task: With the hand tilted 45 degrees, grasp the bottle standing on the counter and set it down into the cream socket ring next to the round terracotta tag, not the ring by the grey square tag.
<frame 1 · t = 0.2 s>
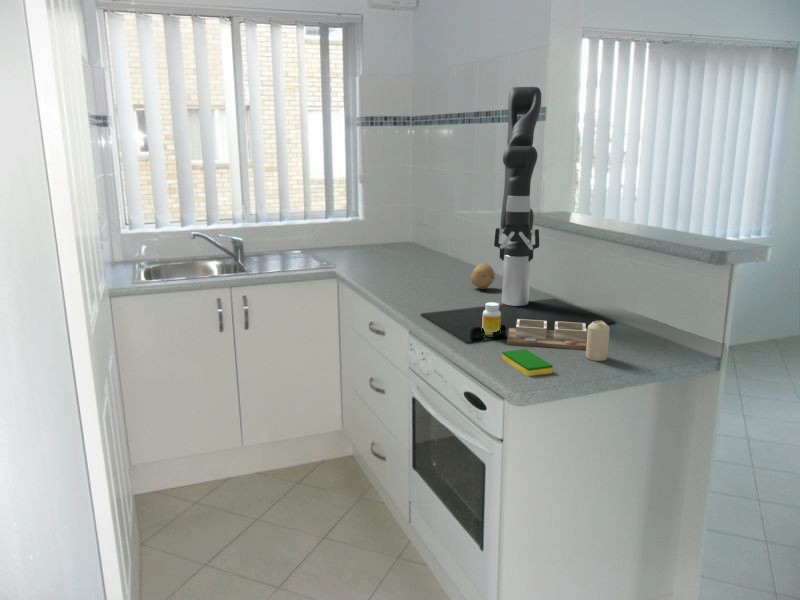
hand: (516, 260, 215), 18 cm above the counter, tool pointing down, fingers open, 8 cm apart
supplement bottle: (491, 336, 196), on the counter
candle: (596, 358, 177), on the counter
socket board: (550, 340, 192), on the counter
potato: (482, 290, 253), on the counter
dish sponge: (526, 367, 171), on the counter
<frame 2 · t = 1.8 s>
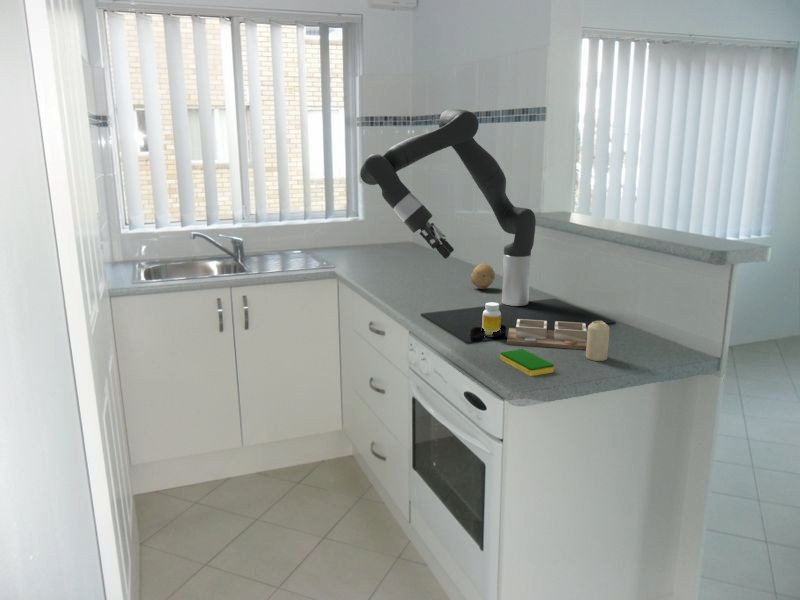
hand: (450, 254, 193), 24 cm above the counter, tool tilted 45°, fingers open, 8 cm apart
nothing on the counter moved.
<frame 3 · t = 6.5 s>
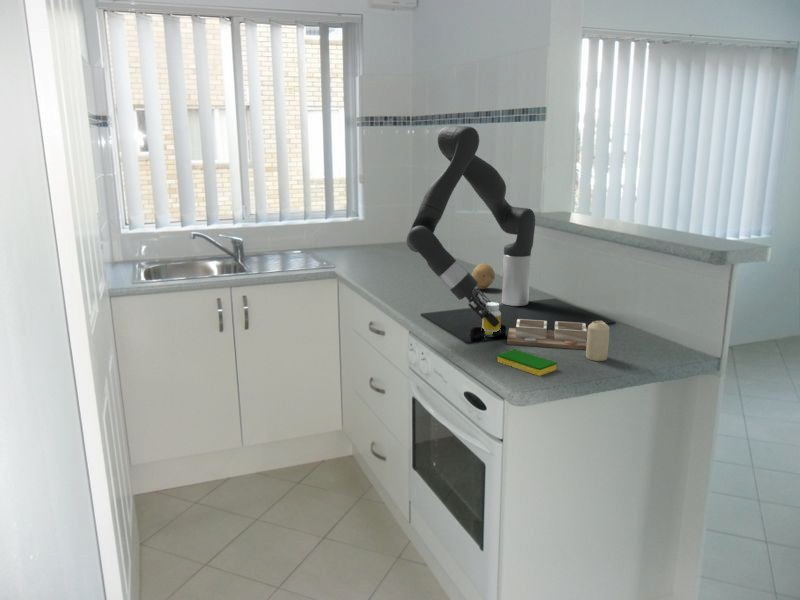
hand: (497, 321, 195), 4 cm above the counter, tool tilted 45°, fingers closed on supplement bottle, 5 cm apart
supplement bottle: (491, 335, 196), on the counter, touching gripper
when the fingers open (7 cm above the counter, at t = 12.5 s): supplement bottle drops 2 cm, resting on socket board.
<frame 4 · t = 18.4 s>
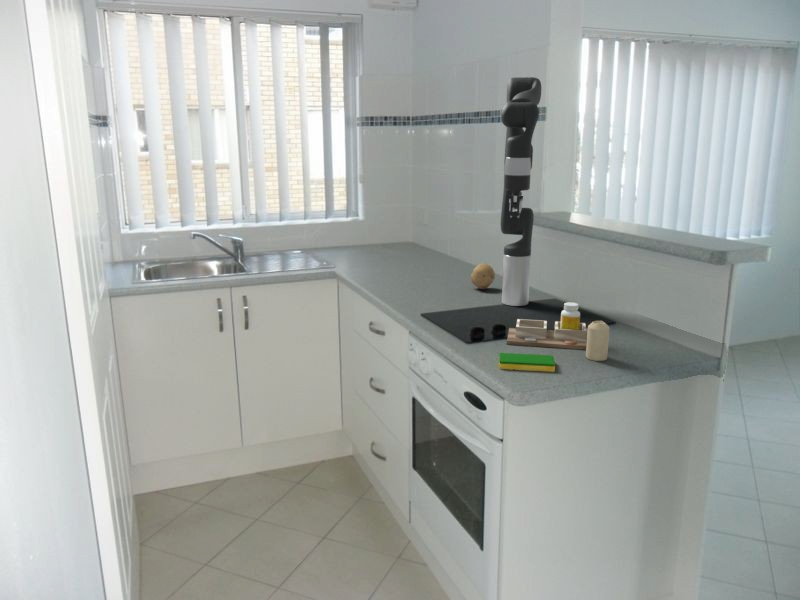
hand: (514, 228, 199), 30 cm above the counter, tool pointing down, fingers open, 8 cm apart
supplement bottle: (569, 336, 192), point 1 cm above the counter, touching socket board
at the end: supplement bottle 0.2 cm from the target spot on the socket board, point 0.8 cm above the socket board's base; supplement bottle tilted 0°; the gripper is holding nothing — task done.
